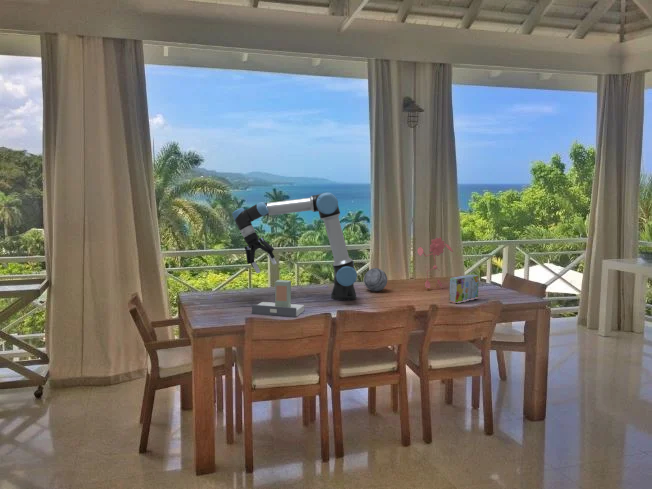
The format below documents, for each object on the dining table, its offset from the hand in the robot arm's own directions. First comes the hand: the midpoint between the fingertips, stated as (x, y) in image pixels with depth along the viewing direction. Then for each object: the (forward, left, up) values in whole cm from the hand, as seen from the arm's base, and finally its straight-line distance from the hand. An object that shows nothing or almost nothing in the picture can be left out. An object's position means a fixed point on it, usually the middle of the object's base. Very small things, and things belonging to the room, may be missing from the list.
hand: (266, 268), depth 295 cm
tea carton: (-16, +17, -17) cm, 29 cm away
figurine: (-90, -73, -21) cm, 118 cm away
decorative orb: (-53, -57, -21) cm, 80 cm away
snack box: (-108, -45, -21) cm, 119 cm away
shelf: (-13, +15, -20) cm, 28 cm away
